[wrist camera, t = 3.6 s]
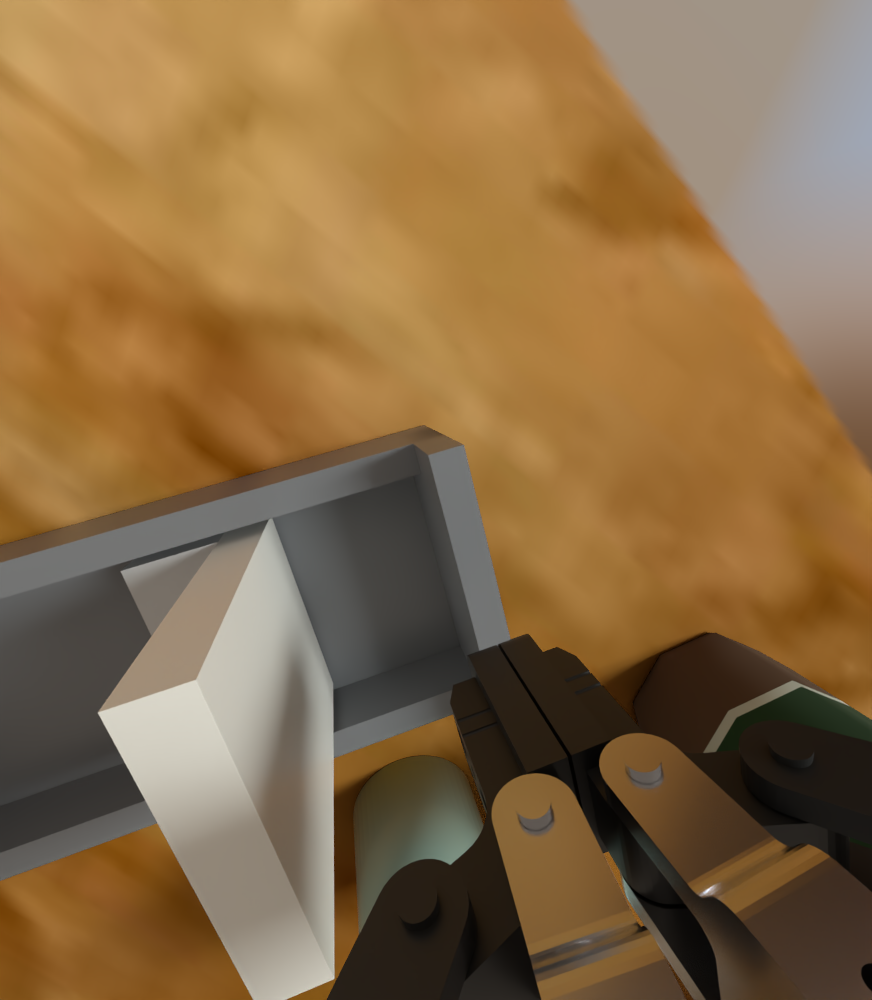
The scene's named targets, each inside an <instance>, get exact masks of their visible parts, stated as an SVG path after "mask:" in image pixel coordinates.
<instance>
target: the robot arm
mask: <svg viewBox="0 0 872 1000" xmlns="http://www.w3.org/2000/svg"><path fill="white" fill-rule="evenodd" d="M467 660H468V665H469V668H470V672H471V676H472V678H471V679H468V680H465V681H463V682H460V683H457V684H454V685H453V689H452V694H451V700H450V705H451V708H452V712H453V715H454V719H455V722H456V726H457V729H458V732H459V736H460V739H461V743H462V746H463V749H464V753H465V756H466V759H467V762H468V765H469V767H470V770H471V773H472V776H473V778H474V781H475V784H476V787H477V790H478V792H479V795H480V798H481V801H482V803H483V806H484V809H485V812H486V819H485V824H484V826H483V829H482V831H481V833H480V835H479V836H478V838H477V840H476V841H475V842H474V843H473V845H472V846H471V847H470V848H469V849H468V850H467V851H466V852H465V853H463V854H462V855H461V856H460V857H459V858H458V859H456V860H455V861H454V862H453V863H452V864H451V865H450V864H448V863H446V862H444V861H441V860H437V859H422V860H417V861H414V862H412V863H409V864H408V865H406V866H404V867H402V868H401V869H400V870H398V871H397V872H396V873H395V874H394V875H393V876H392V877H391V878H390V879H389V880H388V882H387V883H386V884H385V885H384V887H383V889H382V890H381V892H380V894H379V896H378V898H377V900H376V902H375V904H374V906H373V908H372V910H371V912H370V914H369V916H368V918H367V920H366V922H365V924H364V926H363V928H362V930H361V932H360V934H359V936H358V938H357V940H356V942H355V944H354V946H353V948H352V950H351V952H350V954H349V956H348V958H347V960H346V962H345V964H344V966H343V968H342V970H341V972H340V974H339V976H338V978H337V980H336V982H335V984H334V986H333V988H332V990H331V992H330V994H329V996H328V998H327V1000H686V998H685V996H684V994H683V992H682V990H681V988H680V986H679V984H678V982H677V980H676V978H675V976H674V974H673V972H672V971H671V969H670V967H669V965H668V963H667V961H666V959H665V957H666V958H667V960H668V961H669V963H670V964H671V966H672V968H673V969H674V971H675V972H676V974H677V975H678V977H679V978H680V980H681V981H682V983H683V984H684V986H685V987H686V989H687V990H688V992H689V993H690V995H691V996H692V998H693V999H694V1000H872V849H870V848H867V847H864V846H862V845H859V844H856V843H853V842H850V838H853V839H856V840H859V841H862V842H865V843H867V844H870V845H872V742H870V741H866V740H862V739H858V738H854V737H850V736H846V735H842V734H838V733H834V732H830V731H826V730H822V729H818V728H814V727H810V726H806V725H802V724H798V723H794V722H789V721H781V720H769V721H762V722H758V723H755V724H753V725H751V726H749V727H748V728H746V729H745V730H744V731H743V733H742V734H741V736H740V738H739V750H732V751H721V752H709V753H687V752H681V751H680V750H679V749H678V748H677V747H676V746H674V745H673V744H672V743H670V742H669V741H667V740H665V739H663V738H660V737H658V736H654V735H650V734H645V733H644V732H643V731H642V730H641V729H640V727H639V726H638V725H637V724H636V723H635V722H634V721H633V720H632V718H631V717H630V716H629V715H628V714H627V713H626V712H625V711H624V709H623V708H622V707H621V706H620V705H619V704H618V703H617V702H616V700H615V699H614V698H613V697H612V696H611V695H610V694H609V693H608V691H607V690H606V689H605V688H604V687H603V686H601V685H600V682H599V681H598V680H597V679H596V678H595V677H594V676H593V675H592V673H591V674H590V672H589V670H588V669H587V668H586V667H585V666H584V664H583V663H582V662H581V661H580V660H579V659H578V658H577V657H576V656H575V655H573V654H571V653H568V652H566V651H564V650H562V649H560V648H558V647H556V648H553V649H550V650H547V651H545V652H542V650H541V649H540V648H539V647H538V645H537V644H536V643H535V641H534V640H533V639H532V638H531V636H530V635H529V634H525V635H522V636H519V637H516V638H514V639H511V640H508V641H505V642H502V643H500V644H498V646H497V645H494V646H492V647H489V648H486V649H483V650H480V651H478V652H475V653H472V654H469V655H467ZM608 851H609V853H610V855H611V856H612V858H613V860H614V862H615V863H616V865H617V867H618V868H619V870H620V875H621V880H622V885H623V889H624V892H625V895H626V897H627V899H628V900H629V902H630V904H631V905H632V907H633V908H634V910H635V911H636V913H637V914H638V916H639V917H640V919H641V921H642V922H643V924H644V925H645V926H642V927H641V926H640V925H639V924H638V922H637V921H636V919H635V917H634V915H633V914H632V912H631V910H630V908H629V906H628V904H627V901H626V899H625V897H624V895H623V893H622V891H621V889H620V887H619V885H618V883H617V881H616V879H615V877H614V875H613V873H612V871H611V869H610V867H609V865H608V863H607V860H606V858H605V856H604V854H603V853H605V852H608ZM662 952H663V953H662ZM663 954H664V955H665V957H664V955H663Z"/></svg>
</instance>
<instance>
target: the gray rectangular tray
mask: <svg viewBox="0 0 872 1000" xmlns="http://www.w3.org/2000/svg"><path fill="white" fill-rule="evenodd" d="M271 518H272V519H273V522H274V524H275V527H276V530H277V532H278V535H279V538H280V541H281V543H282V546H283V549H284V551H285V554H286V557H287V560H288V562H289V565H290V568H291V570H292V573H293V576H294V579H295V581H296V584H297V587H298V589H299V592H300V595H301V597H302V600H303V603H304V606H305V608H306V611H307V614H308V616H309V619H310V622H311V625H312V627H313V630H314V633H315V635H316V638H317V641H318V644H319V646H320V649H321V652H322V654H323V657H324V660H325V662H326V665H327V668H328V671H329V673H330V676H331V679H332V681H333V748H334V758H335V757H338V756H341V755H344V754H346V753H349V752H352V751H355V750H357V749H360V748H363V747H365V746H368V745H371V744H374V743H376V742H379V741H382V740H384V739H387V738H390V737H393V736H395V735H398V734H401V733H403V732H406V731H409V730H412V729H414V728H417V727H420V726H423V725H425V724H428V723H431V722H433V721H436V720H439V719H442V718H444V717H447V716H450V715H452V714H453V712H452V708H451V705H450V700H451V694H452V689H453V685H454V684H457V683H460V682H463V681H465V680H468V679H471V678H472V676H471V672H470V668H469V665H468V660H467V655H469V654H472V653H475V652H478V651H480V650H483V649H486V648H489V647H492V646H494V645H497V646H498V644H500V643H502V642H505V641H508V640H510V636H509V631H508V627H507V623H506V619H505V615H504V611H503V606H502V602H501V598H500V594H499V590H498V586H497V581H496V577H495V573H494V569H493V565H492V561H491V556H490V552H489V548H488V544H487V540H486V536H485V531H484V527H483V523H482V519H481V515H480V511H479V506H478V502H477V498H476V494H475V490H474V486H473V481H472V477H471V473H470V469H469V465H468V461H467V456H466V452H465V448H464V445H463V444H461V443H459V442H457V441H455V440H453V439H451V438H449V437H447V436H445V435H443V434H441V433H439V432H437V431H435V430H433V429H431V428H429V427H426V426H424V425H423V426H419V427H416V428H412V429H409V430H405V431H402V432H398V433H395V434H391V435H388V436H384V437H381V438H377V439H373V440H370V441H366V442H363V443H359V444H356V445H352V446H349V447H345V448H342V449H338V450H335V451H331V452H328V453H324V454H321V455H317V456H314V457H310V458H307V459H303V460H300V461H296V462H293V463H289V464H286V465H282V466H279V467H275V468H272V469H268V470H264V471H261V472H257V473H254V474H250V475H247V476H243V477H240V478H236V479H233V480H229V481H226V482H222V483H219V484H215V485H212V486H208V487H205V488H201V489H198V490H194V491H191V492H187V493H184V494H180V495H177V496H173V497H170V498H166V499H162V500H159V501H155V502H152V503H148V504H145V505H141V506H138V507H134V508H131V509H127V510H124V511H120V512H117V513H113V514H110V515H106V516H103V517H99V518H96V519H92V520H89V521H85V522H82V523H78V524H75V525H71V526H68V527H64V528H60V529H57V530H53V531H50V532H46V533H43V534H39V535H36V536H32V537H29V538H25V539H22V540H18V541H15V542H11V543H8V544H4V545H1V546H0V881H1V880H4V879H6V878H9V877H12V876H14V875H17V874H20V873H23V872H25V871H28V870H31V869H33V868H36V867H39V866H42V865H44V864H47V863H50V862H53V861H55V860H58V859H61V858H63V857H66V856H69V855H72V854H74V853H77V852H80V851H82V850H85V849H88V848H91V847H93V846H96V845H99V844H101V843H104V842H107V841H110V840H112V839H115V838H118V837H121V836H123V835H126V834H129V833H131V832H134V831H137V830H140V829H142V828H145V827H148V826H150V825H153V824H156V823H157V821H156V819H155V817H154V816H153V814H152V812H151V810H150V808H149V806H148V805H147V803H146V801H145V799H144V797H143V795H142V793H141V792H140V790H139V788H138V786H137V784H136V782H135V781H134V779H133V777H132V775H131V773H130V771H129V769H128V768H127V766H126V764H125V762H124V760H123V758H122V757H121V755H120V753H119V751H118V749H117V747H116V746H115V744H114V742H113V740H112V738H111V736H110V734H109V733H108V731H107V729H106V727H105V725H104V723H103V722H102V720H101V718H100V716H99V714H98V711H99V710H100V709H101V707H102V706H103V704H104V703H105V702H106V700H107V699H108V697H109V696H110V694H111V693H112V692H113V690H114V689H115V687H116V686H117V685H118V683H119V682H120V680H121V679H122V677H123V676H124V675H125V673H126V672H127V670H128V669H129V668H130V666H131V665H132V663H133V662H134V660H135V659H136V658H137V656H138V655H139V653H140V652H141V650H142V649H143V648H144V646H145V645H146V643H147V642H148V641H149V639H150V638H151V634H150V632H149V630H148V628H147V626H146V624H145V621H144V619H143V617H142V615H141V613H140V611H139V609H138V607H137V605H136V603H135V601H134V598H133V596H132V594H131V592H130V590H129V588H128V586H127V584H126V582H125V580H124V578H123V575H122V573H121V570H122V569H123V568H125V567H126V566H127V565H128V564H129V563H130V562H131V561H132V560H133V559H136V558H140V557H143V556H146V555H150V554H153V553H157V552H160V551H163V550H167V549H170V548H173V547H177V546H180V545H183V544H187V543H190V542H194V541H197V540H200V539H204V538H207V537H210V536H214V535H217V534H220V533H224V532H227V531H230V530H234V529H237V528H241V527H244V526H247V525H251V524H254V523H257V522H261V521H264V520H267V519H271Z"/></svg>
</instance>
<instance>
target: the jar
mask: <svg viewBox="0 0 872 1000" xmlns="http://www.w3.org/2000/svg"><path fill="white" fill-rule="evenodd" d="M353 821H354V842H355V863H356V884H357V904H358V925H359V934H360V932H361V930H362V928H363V926H364V924H365V922H366V920H367V918H368V916H369V914H370V912H371V910H372V908H373V906H374V904H375V902H376V900H377V898H378V896H379V894H380V892H381V890H382V889H383V887H384V885H385V884H386V883H387V882H388V880H389V879H390V878H391V877H392V876H393V875H394V874H395V873H396V872H397V871H398V870H400V869H401V868H402V867H404V866H406V865H408V864H409V863H412V862H414V861H417V860H422V859H437V860H441V861H444V862H446V863H448V864H450V865H451V864H452V863H453V862H454V861H455V860H456V859H458V858H459V857H460V856H461V855H462V854H463V853H465V852H466V851H467V850H468V849H469V848H470V847H471V846H472V845H473V843H474V842H475V841H476V840H477V838H478V836H479V835H480V833H481V831H482V829H483V826H484V824H483V821H482V818H481V815H480V813H479V810H478V807H477V804H476V801H475V798H474V795H473V792H472V789H471V786H470V783H469V781H468V779H467V777H466V775H465V774H464V773H463V771H462V770H461V769H460V768H459V767H457V766H456V765H455V764H453V763H452V762H450V761H448V760H445V759H443V758H439V757H434V756H413V757H408V758H404V759H401V760H398V761H395V762H393V763H391V764H389V765H387V766H385V767H384V768H382V769H381V770H379V771H378V772H376V773H375V774H374V775H373V776H372V777H371V778H370V779H369V780H368V781H367V782H366V783H365V785H364V786H363V788H362V789H361V791H360V793H359V795H358V797H357V799H356V802H355V806H354V812H353Z"/></svg>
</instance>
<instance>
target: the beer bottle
mask: <svg viewBox="0 0 872 1000" xmlns="http://www.w3.org/2000/svg"><path fill="white" fill-rule="evenodd" d="M633 705H634V709H635V713H636V717H637V721H638V725H639V727H640V729H641V730H642V731H643V732H644V733H645V734H650V735H654V736H658V737H660V738H663V739H665V740H667V741H669V742H670V743H672V744H673V745H674V746H676V747H677V748H678V749H679V750H680V751H681V752H687V753H709V752H721V751H732V750H739V738H740V736H741V734H742V733H743V731H744V730H745V729H746V728H748V727H749V726H751V725H753V724H755V723H758V722H762V721H769V720H781V721H789V722H794V723H798V724H802V725H806V726H810V727H814V728H818V729H822V730H826V731H830V732H834V733H838V734H842V735H846V736H850V737H854V738H858V739H862V740H866V741H870V742H872V720H871V719H869V718H868V717H866V716H865V715H863V714H861V713H860V712H858V711H857V710H855V709H853V708H852V707H850V706H849V705H847V704H845V703H844V702H842V701H841V700H839V699H837V698H836V697H834V696H833V695H831V694H830V693H828V692H826V691H825V690H823V689H822V688H820V687H818V686H817V685H815V684H814V683H812V682H810V681H809V680H807V679H806V678H804V677H803V676H801V675H799V674H798V673H796V672H795V671H793V670H791V669H790V668H788V667H786V666H784V665H782V664H781V663H779V662H777V661H775V660H773V659H772V658H770V657H768V656H766V655H764V654H763V653H761V652H759V651H757V650H755V649H752V648H750V647H748V646H745V645H743V644H741V643H738V642H736V641H733V640H731V639H729V638H726V637H724V636H722V635H719V634H717V633H708V634H705V635H703V636H701V637H699V638H697V639H694V640H692V641H690V642H688V643H686V644H683V645H681V646H679V647H677V648H675V649H672V650H670V651H668V652H666V653H664V654H661V655H660V656H659V658H658V660H657V661H656V663H655V665H654V667H653V669H652V670H651V672H650V674H649V676H648V677H647V679H646V681H645V683H644V684H643V686H642V688H641V690H640V691H639V693H638V695H637V697H636V698H635V700H634V702H633ZM850 842H853V843H856V844H859V845H862V846H864V847H867V848H870V849H872V845H870V844H867V843H865V842H862V841H859V840H856V839H853V838H850Z"/></svg>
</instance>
